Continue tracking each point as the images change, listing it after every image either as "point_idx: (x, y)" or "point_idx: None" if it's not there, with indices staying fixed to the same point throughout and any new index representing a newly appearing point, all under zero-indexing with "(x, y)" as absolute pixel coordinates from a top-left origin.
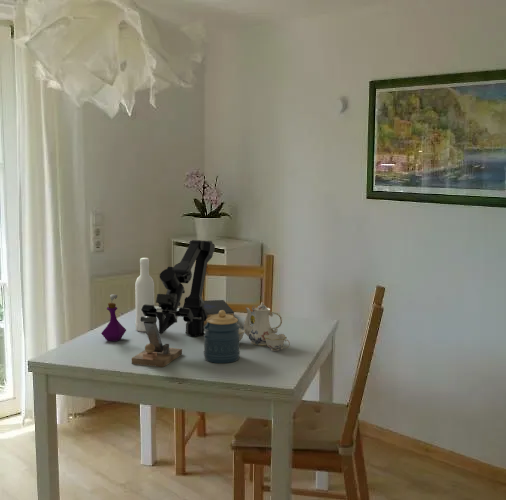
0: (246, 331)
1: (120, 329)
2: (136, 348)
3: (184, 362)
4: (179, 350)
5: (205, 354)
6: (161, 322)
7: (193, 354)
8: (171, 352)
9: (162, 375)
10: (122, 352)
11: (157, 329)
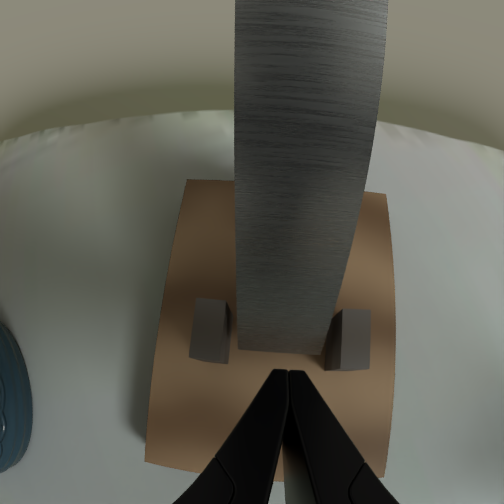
0: None
1: None
2: (466, 467)
3: (103, 300)
4: (149, 427)
5: (1, 341)
6: (320, 482)
7: (96, 457)
8: (188, 370)
9: (171, 115)
10: (499, 370)
11: (236, 107)
